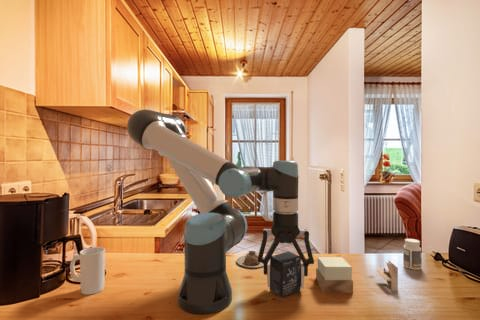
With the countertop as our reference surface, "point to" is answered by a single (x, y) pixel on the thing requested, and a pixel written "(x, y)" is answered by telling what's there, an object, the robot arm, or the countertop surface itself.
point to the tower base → (334, 284)
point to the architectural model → (390, 275)
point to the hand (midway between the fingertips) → (285, 285)
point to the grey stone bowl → (249, 260)
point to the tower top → (334, 268)
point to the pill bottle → (412, 254)
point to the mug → (90, 269)
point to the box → (285, 274)
